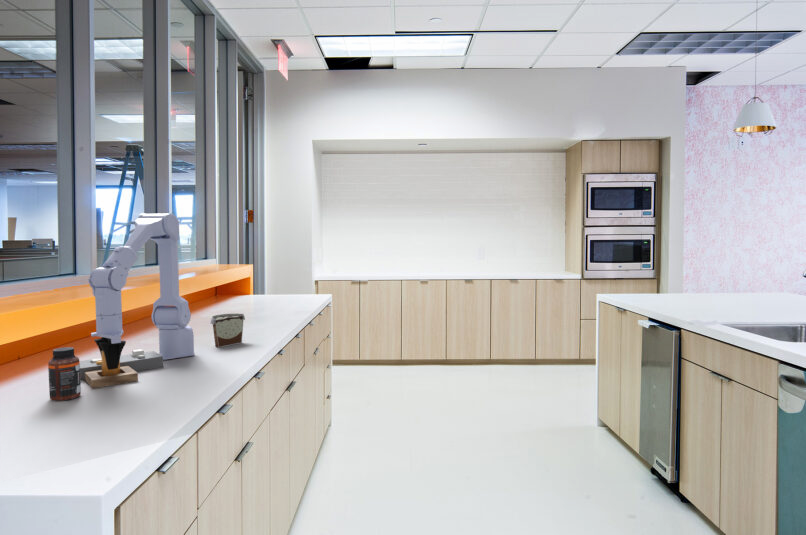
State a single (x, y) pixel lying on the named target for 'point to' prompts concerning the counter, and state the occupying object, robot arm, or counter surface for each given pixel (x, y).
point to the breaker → (137, 353)
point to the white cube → (96, 360)
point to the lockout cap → (105, 369)
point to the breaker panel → (126, 363)
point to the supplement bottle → (64, 375)
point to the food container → (227, 329)
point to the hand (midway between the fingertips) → (110, 367)
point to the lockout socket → (111, 377)
